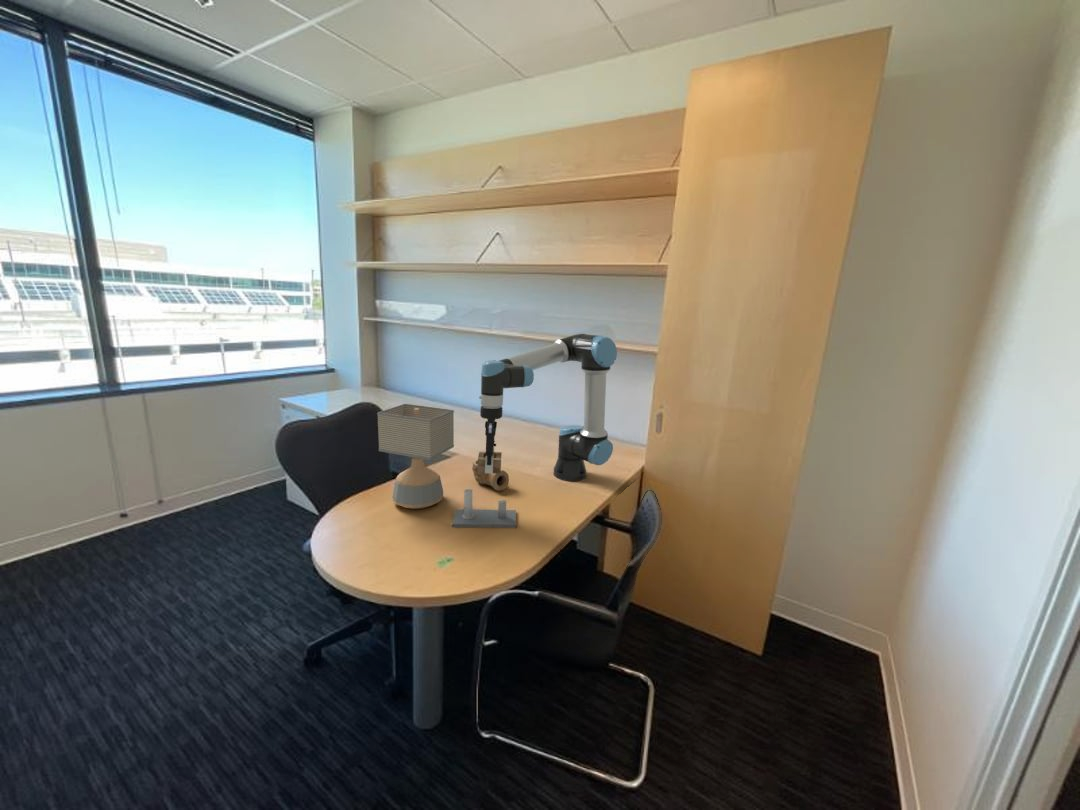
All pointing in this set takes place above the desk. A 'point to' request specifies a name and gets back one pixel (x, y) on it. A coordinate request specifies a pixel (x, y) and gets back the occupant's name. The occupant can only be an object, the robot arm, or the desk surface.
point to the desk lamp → (416, 449)
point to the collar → (495, 462)
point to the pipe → (491, 478)
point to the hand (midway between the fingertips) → (489, 468)
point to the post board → (483, 515)
